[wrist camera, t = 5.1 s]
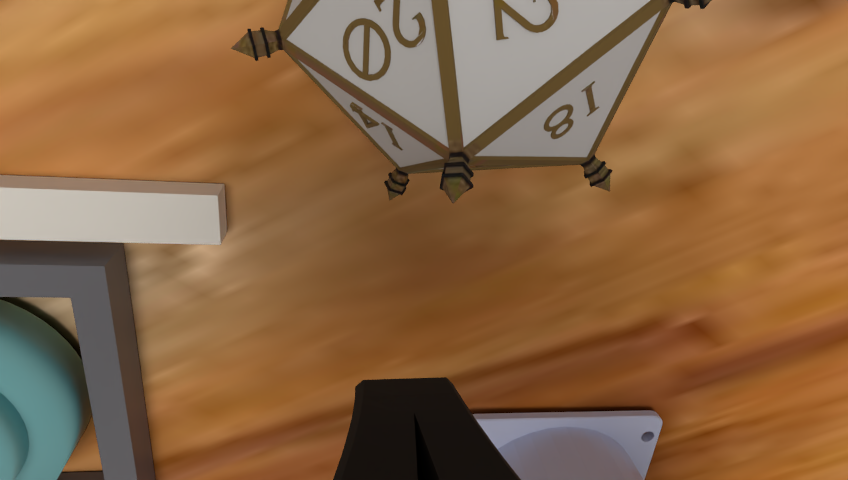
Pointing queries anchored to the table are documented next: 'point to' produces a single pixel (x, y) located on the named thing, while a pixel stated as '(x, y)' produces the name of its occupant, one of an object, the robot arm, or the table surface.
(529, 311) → the table surface
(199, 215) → the frame
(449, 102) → the game die
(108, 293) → the grey square frame
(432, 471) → the robot arm
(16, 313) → the dome
